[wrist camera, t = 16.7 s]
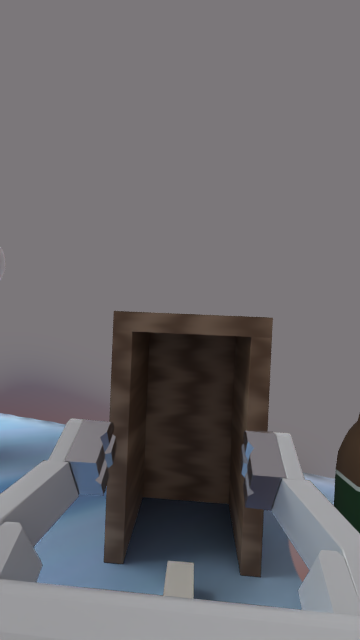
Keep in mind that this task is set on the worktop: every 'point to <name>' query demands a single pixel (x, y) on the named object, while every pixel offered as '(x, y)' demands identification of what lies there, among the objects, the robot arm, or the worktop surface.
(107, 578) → the worktop surface
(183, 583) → the bar
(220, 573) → the worktop surface
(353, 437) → the beer bottle
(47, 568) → the worktop surface
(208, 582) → the worktop surface
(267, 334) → the shelf
